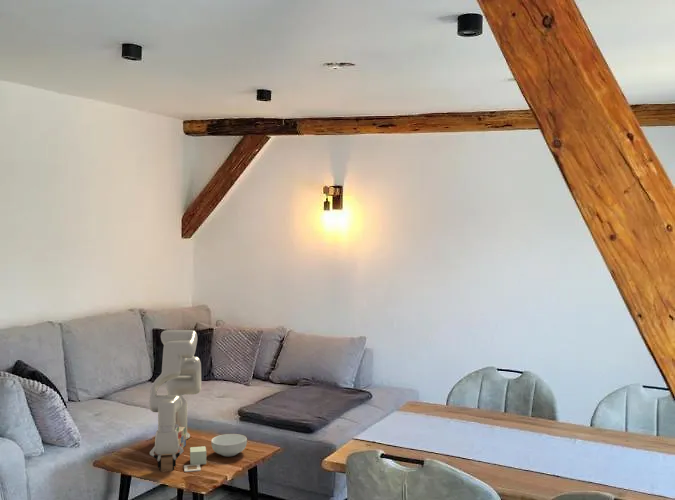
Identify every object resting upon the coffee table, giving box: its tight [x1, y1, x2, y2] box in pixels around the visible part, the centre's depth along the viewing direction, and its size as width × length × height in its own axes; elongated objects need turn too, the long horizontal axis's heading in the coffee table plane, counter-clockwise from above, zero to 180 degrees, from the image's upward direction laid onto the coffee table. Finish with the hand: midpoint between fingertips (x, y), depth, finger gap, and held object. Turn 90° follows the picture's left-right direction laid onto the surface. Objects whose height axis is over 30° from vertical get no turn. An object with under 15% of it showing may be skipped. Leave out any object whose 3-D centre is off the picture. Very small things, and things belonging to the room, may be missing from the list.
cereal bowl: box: [210, 433, 248, 457], centre depth 313 cm, size 17×17×7 cm
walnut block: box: [160, 454, 174, 473], centre depth 292 cm, size 5×5×6 cm
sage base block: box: [189, 445, 207, 465], centre depth 302 cm, size 7×7×6 cm
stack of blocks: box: [156, 427, 187, 456], centre depth 314 cm, size 21×6×12 cm, turn 172°
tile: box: [183, 464, 202, 473], centre depth 293 cm, size 7×7×1 cm
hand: (166, 468), depth 292 cm, fingers closed on walnut block, 5 cm apart
